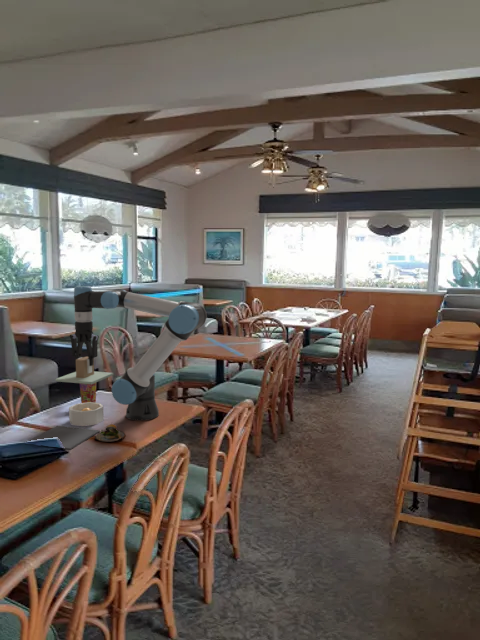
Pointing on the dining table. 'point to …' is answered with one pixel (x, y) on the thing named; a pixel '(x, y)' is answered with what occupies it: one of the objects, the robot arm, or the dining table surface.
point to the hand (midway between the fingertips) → (85, 372)
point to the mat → (68, 435)
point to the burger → (110, 434)
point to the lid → (84, 374)
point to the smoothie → (88, 392)
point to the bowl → (86, 414)
